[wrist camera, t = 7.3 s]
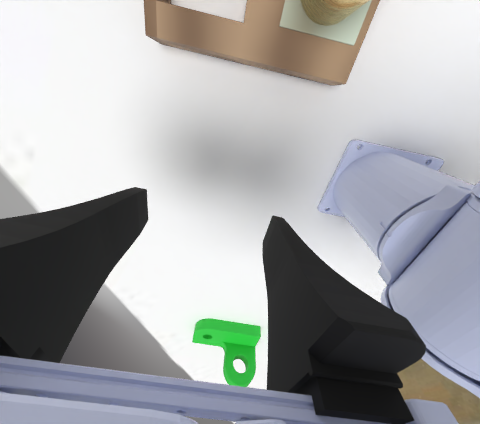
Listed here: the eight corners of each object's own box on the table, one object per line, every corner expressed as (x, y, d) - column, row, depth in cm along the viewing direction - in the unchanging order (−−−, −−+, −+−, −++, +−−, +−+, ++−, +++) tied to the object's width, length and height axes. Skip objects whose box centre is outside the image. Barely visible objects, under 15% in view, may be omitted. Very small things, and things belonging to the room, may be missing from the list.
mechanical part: (260, 325, 36) (262, 379, 29) (252, 339, 39) (253, 391, 32) (197, 315, 35) (185, 368, 28) (194, 331, 38) (183, 382, 31)
